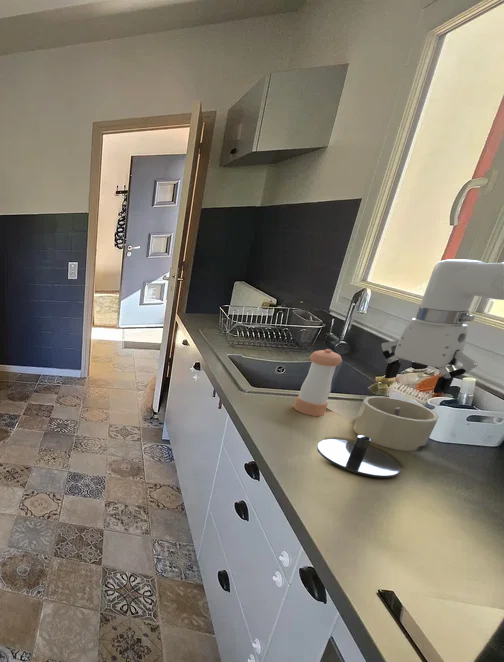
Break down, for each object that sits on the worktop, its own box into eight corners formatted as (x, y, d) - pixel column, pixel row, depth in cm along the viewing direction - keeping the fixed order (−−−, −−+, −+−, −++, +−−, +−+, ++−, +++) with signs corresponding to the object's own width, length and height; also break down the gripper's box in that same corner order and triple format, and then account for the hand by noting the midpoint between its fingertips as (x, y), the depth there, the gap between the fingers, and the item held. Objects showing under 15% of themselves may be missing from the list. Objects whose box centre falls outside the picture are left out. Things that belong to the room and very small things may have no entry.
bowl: (437, 446, 96) (452, 416, 93) (400, 455, 92) (414, 424, 89) (376, 420, 108) (387, 393, 105) (340, 427, 104) (350, 400, 101)
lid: (414, 472, 86) (426, 449, 84) (367, 485, 82) (378, 461, 80) (344, 439, 99) (352, 418, 97) (301, 448, 96) (308, 427, 93)
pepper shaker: (328, 411, 113) (349, 350, 106) (318, 418, 109) (340, 355, 102) (299, 402, 119) (318, 343, 111) (289, 409, 115) (308, 348, 107)
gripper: (505, 322, 81) (471, 396, 87) (405, 307, 96) (383, 371, 103) (482, 326, 79) (449, 401, 85) (384, 310, 94) (362, 374, 101)
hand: (413, 384), depth 94 cm, fingers open, 9 cm apart
